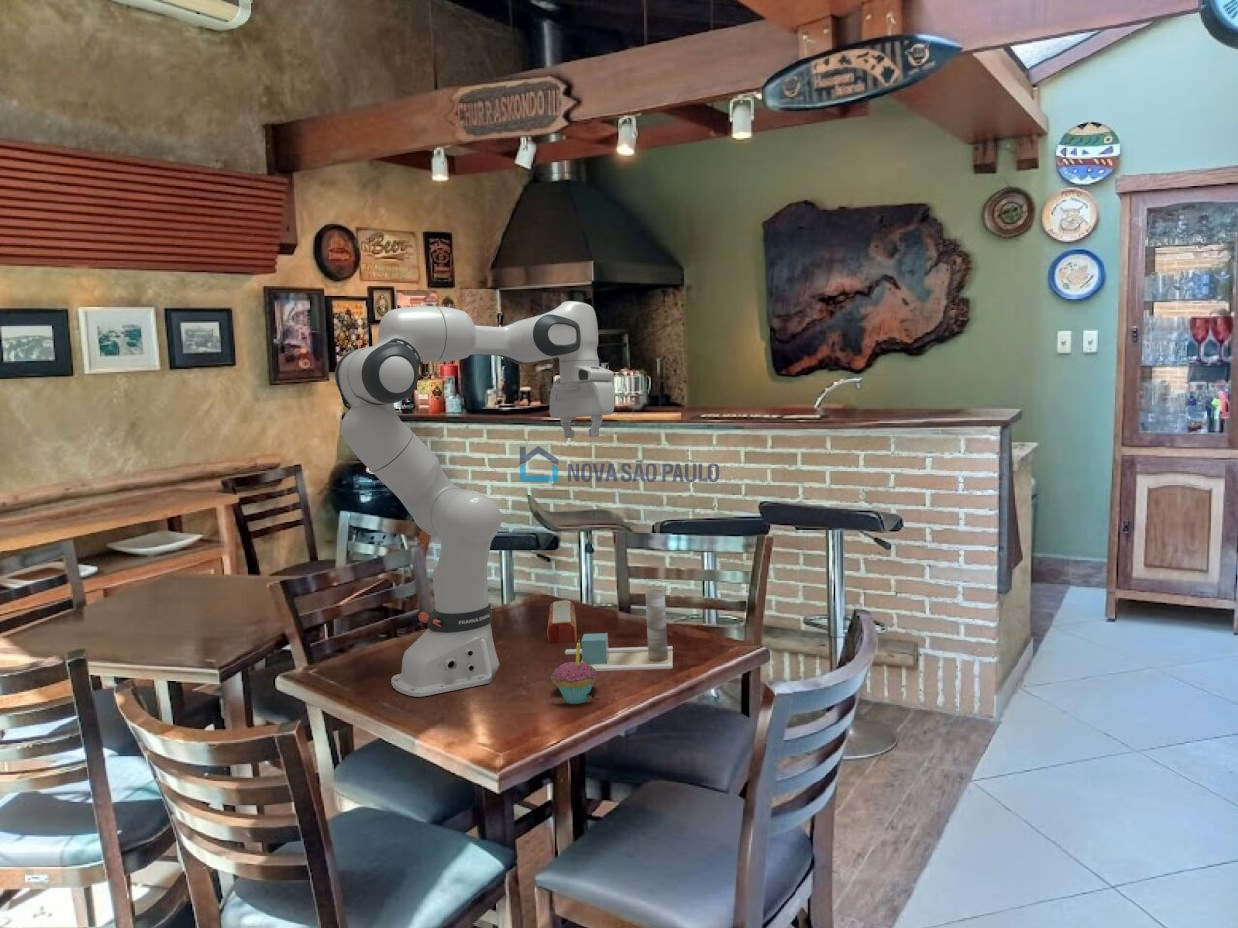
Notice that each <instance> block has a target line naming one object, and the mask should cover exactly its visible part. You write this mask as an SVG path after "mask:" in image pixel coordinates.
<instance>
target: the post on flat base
mask: <svg viewBox="0 0 1238 928" xmlns="http://www.w3.org/2000/svg"><path fill="white" fill-rule="evenodd" d="M665 592H666V591H664V590H660V589H653V590H652V589H651V590H646V591H645V614H646V633H647V634H646V636H647V638H646V639H647V647H648V652H623V653H609V658H608V662H607V664H590V665H591V666H604V665H636V664H669V663H672V664H674V663H673V661H674V660H673V657H674V656H673V655H674V654H673V653H674V650H673V651H667V646H668V635H667V634H668V633H667V632H668V631H667V617H666V616H667V614H666V612H667V611H666V593H665ZM580 662H583V659H582V658H581V661H580Z"/></svg>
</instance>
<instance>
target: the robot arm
mask: <svg viewBox="0 0 1238 928" xmlns="http://www.w3.org/2000/svg"><path fill="white" fill-rule="evenodd" d="M596 315H597V314H596V311H595V309H594V308H593V306H592V305H590V304H589V303H587V302H584V301H579V300H566V301H563V302H562V303H561V304H560V305H559V306H558V307H555V308H554V309H552V310H550V311H548V312H545V313H543V314H539V315H535V316H532V317H528V318H525V319H523V318H522V319H517V320H513V321H510V322H508V323H507V324H505V325H503V326H489V325H487V326H486V325H476V324H475V323H474V321H473V319H472V317H471V316H470V315H469V314H468V312H466V311H465V310H462V309H461V310H460V309H457V308H454V307H448V306H436V305H435V306H434V305H429V306H428V305H419V306H418V305H417V306H407V307H399V308H394V309H390V310H389V311H387V312H386V313H384V315H382V317H381V320H380V322H379V325H378V334H377V335H378V339H377V342H376V343H375V344H374V345H373V346H365V347H362V348H357V349H353V350H351V351H349V352H347V353H346V354H344V355H343V356H342V357H340V359H339V361H338V362H337V363H336V365H335V366H336V367H335V370H334V380H335V384H336V387H337V389H338V391H339V393H340V397H341V401H342V404H343V406H344V407H345V408H346V409H347V410H348V411H347V412H346V413H345V415H344V417H343V418H342V420H341V424H340V432H341V435H342V437H343V439H344V440H345V442H346V444H347V445H348V447H349V448H350V449H351V450H352V452H354V454H355V455H356V456H357V458H358V460H360V461H361V462H362V464H363V465H365V466H366V468H368V469H369V470H370V472H372V473H373V475H374V476H376V477H377V478H378V479H379V480H380V481H381V482H382V483H383V484H384V485H385V486H386V488H388V490H390V491H391V493H393V494H394V495H395V496H396V497H397V499H399V501H400V502H401V503H402V505H403V506H404V508H405V509H406V511H407V512H408V513H409V515H411V517H412V518H413V520H414V522H415V524H416V525H417V526H418V528H419V529H421V530H422V531H423V532H425V533H426V534H427V535H429V536H431V537H433V538H436V539H440V552H439V557H438V562H437V565H435V567H434V569H433V572H432V584H433V585H432V587H433V598H434V599H433V600H434V609H433V610H432V612H431V613H430V614H429V612H426V611H421V612H419V614H418V617H417V618H418V620H419V622H422V623H425V624H426V623H427V627H428V628H427V629H426V630H425V631H424V632H423V633H422V634H421V635H420V636H419V637H418V638H417V639H416V640H415V641H414V642H413V643H412V644H411V645H410V646H409V647H408V648H407V649H406V650H405V651H404V653H403V656H402V662H401V672H400V673H398V674H395V675H393V676H392V677H391V681H390V682H391V683H390V685H391V684H392V685H391V687H392V686H393V687H392V688H393V689H395V691H397V692H399V693H401V694H403V695H407V696H410V697H418V698H422V697H426V696H432V695H437V694H442V693H448V692H451V691H452V692H453V691H457V690H462V689H467V688H473V687H477V686H482V685H487V684H490V683H491V682H492V680H493V678H494V676H495V675H496V674H497V671H498V669H499V668H500V667H501V664H500V661H499V658H498V655H497V650H496V647H495V643H494V637H493V632H492V629H493V613H492V606H491V605H492V604H491V603H490V601H489V587H488V561H489V555H490V550H491V545H492V541H493V540H494V538H495V537H496V535H497V534H498V532H499V530H500V527H501V524H502V515H501V510H500V508H499V506H498V504H497V503H496V502H495V501H494V500H493V499H491V498H490V497H488V496H487V495H486V494H483V493H481V492H480V491H476V490H472V489H465V488H461V487H459V486H457V485H456V484H455V483H453V482H452V481H451V479H449V478H448V476H447V475H446V473H445V472H444V470H443V468H442V467H441V465H440V459H439V458H438V457H437V456H436V454H435V453H434V452H432V450H431V449H430V448H429V447H428V446H427V445H426V444H425V443H424V442H423V441H422V440H421V439H420V438H419V437H418V436H417V435H416V434H415V433H414V432H413V431H412V430H411V428H409V427H408V426H407V424H405V423H404V422H403V421H402V420H401V418H400V417H399V415H398V413H397V411H396V408H395V403H399V402H401V401H404V400H406V399H407V398H409V397H410V396H411V395H412V393H414V391H415V390H416V388H417V385H418V381H419V379H420V378H419V377H420V375H419V374H420V366H421V363H422V362H423V363H425V362H426V363H428V362H429V363H435V362H436V363H441V362H442V363H444V362H455V361H459V360H464V359H468V358H469V357H470V356H471V355H475V356H478V355H479V356H498V357H502V358H503V359H506V360H508V361H510V362H512V363H514V364H517V365H521V366H522V365H525V366H526V365H530V364H531V363H535V362H540V361H545V360H551V359H556V358H558V360H559V361H558V362H559V378H558V377H557V378H556V379H555V381H554V382H553V383H552V388H551V390H550V395H549V396H550V397H549V416H550V417H551V418H552V419H560V420H559V421H560V425H561V427H562V429H563V437H564V438H565V439H573V438H575V430H574V429H572V428H573V427H572V425H571V423H572V418H585V417H590V421H591V422H592V423H591V426H590V428H589V429H588V436H589V437H590V438H598V437H600V428H601V425H602V422H603V416H611V415H613V414H614V411H615V388H614V384H613V382H612V381H614V377H615V376H614V373H615V372H613V371H612V370H610V369H607V368H604V367H603V366H600V358H599V357H598V350H597V349H598V345H599V330H598V329H599V328H598V327H599V326H598V320H597V319H598V318H597V316H596Z"/></svg>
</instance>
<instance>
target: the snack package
mask: <svg viewBox="0 0 1238 928" xmlns="http://www.w3.org/2000/svg"><path fill="white" fill-rule="evenodd" d="M576 618H577V617H576V608H575V604H574V603H573V602H572V601H571V600H567V599H564V600H556V601H553V602H552V603H550V606H549V614H548V623H547V628H546V636H547V640H548V643H549V644H562V643H565V644H566V643H573V642H577V641H578V633H577V619H576Z"/></svg>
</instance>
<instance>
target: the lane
mask: <svg viewBox="0 0 1238 928" xmlns="http://www.w3.org/2000/svg"><path fill="white" fill-rule="evenodd" d="M576 649H577V648H574V649H571V648H569V649H565V651H564V655H576ZM673 649H674V648H673V645H667V651H673V652H674V650H673ZM608 651H609V653H634V652H648V646H638V647H637V646H636V647H635V646H634V647H633V646H632V647H629V646H628V647H608ZM580 654H581V655H582V648H580ZM673 664H674V663H673ZM673 664H672V663H669V664H636V665H604V666H592V667H593V668H594V669H595V672H605V671H636V670H639V671H640V670H643V671H644V670H665V669H666V670H671V669H673V667H674V665H673Z"/></svg>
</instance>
